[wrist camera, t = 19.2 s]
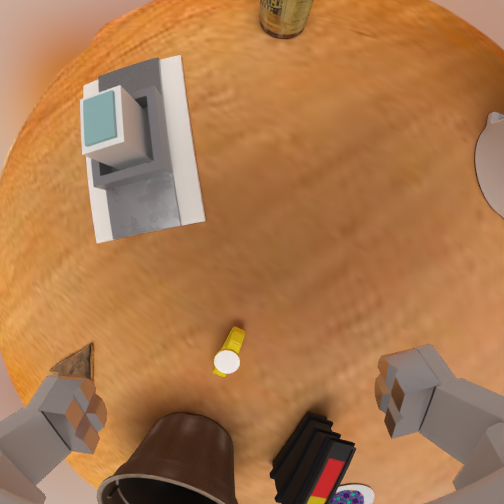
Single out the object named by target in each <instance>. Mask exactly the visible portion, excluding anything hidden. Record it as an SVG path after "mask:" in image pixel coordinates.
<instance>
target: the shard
mask: <svg viewBox="0 0 504 504" xmlns="http://www.w3.org/2000/svg"><path fill="white" fill-rule="evenodd" d="M93 351H94V349H93V345H92V344H90V345H88V346H87V347H85V348H84V349H82V350H81V351H80V352H78V353H77V354H75V355H73V356H70V357H68V358H67V359H65V360H63V361H61V362H60V363H58V364H57V365H55V366H54V368H53V369H51V370H49V374H50V375H55V376H67V377H77V378H87V379H90V380H92V382H93V371H94V370H93V368H94V352H93Z"/></svg>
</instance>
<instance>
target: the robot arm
mask: <svg viewBox="0 0 504 504" xmlns="http://www.w3.org/2000/svg"><path fill="white" fill-rule="evenodd" d="M475 163H476V171H477V176H478V180H479V184H480V187H481V189H482V192H483V194H484V196H485V198H486V200H487V201H488V203H489V204H490V206H491V207H492V208H493V209H494V210H495V211H496V212H497V213H498V214H499V215H501V216H502V217H503V218H504V115H503V114H500V113H497V112H491V113H489V115H488V119H487V126H486V128H485V130H484V131H483V132H482V133H481V135H480V137H479V139H478V142H477V146H476V153H475ZM378 369H379V371H380V374H379V376H378V377H377V378H376V381H375V397H376V401H377V405H378V407H379V410H381V411H383V412H384V413H386V416H385V420H384V422H385V424H386V427H387V429H388V432H389V434H390V437H391V439H392V438H396V437H400V436H404V435H408V434H411V433H415V432H418V431H420V432H419V433H420V434H422V435H423V436H424V437H426V438H427V439H429V440H430V441H431V442H433V443H434V444H436V445H437V446H438V447H440V448H441V449H443V450H444V451H445V452H447V453H448V454H450V455H451V456H452V457H454V458H455V459H457V460H458V461H460V462H461V463H462V464H464V465H463V467H462V468H461V469H460V471H459V472H458V474H457V475H456V476H455V478H454V480H453V484H454V486H455V488H456V491H454V492H452V493H450V494H448V495H445V496H443V497H440V498H438V499H435V500H433V501H430V502H428V503H425V504H504V396H502V395H499V394H497V393H495V392H492V391H490V390H488V389H485V388H483V387H481V386H479V385H476V384H474V383H472V382H470V381H467V380H465V379H463V378H460V379H457V378H456V377H455V375H454V374H453V372H452V371H451V370H450V368H449V367H448V366H447V364H446V363H445V361H444V360H443V359H442V357H441V356H440V355H439V353H438V352H437V351H436V349H435V348H434V347H433V345H431V344H427V345H423V346H419V347H415V348H413V349H408V350H404V351H400V352H396V353H391V354H387V355H382V356H381V357H380V359H379V362H378ZM95 391H96V387H95V385H94V384H93V382H92V380H90V379H87V378H77V377H67V376H55V375H49V376H47V377H46V378H45V380H44V381H43V383H42V384H41V386H40V387H39V389H38V390H37V392H36V393H35V395H34V396H33V398H32V399H31V401H30V403H29V404H28V406H27V407H26V408H21V409H20V410H18V411H17V412H15V413H13V414H12V415H10V416H8V417H7V418H5V419H4V420H2V421H0V504H44V501H45V499H46V497H45V494H44V493H43V492H42V491H41V490H40V489H38V488H37V487H36V485H37V484H38V483H39V482H40V481H41V480H42V479H43V478H44V477H45V476H46V475H47V474H49V473H50V472H51V471H52V470H53V469H54V468H55V467H56V466H57V465H58V464H59V463H60V462H61V461H62V460H64V459H65V458H66V457H67V456H68V455H69V454H70V453H71V451H75V452H81V453H88V454H94V451H95V449H96V446H97V444H98V441H99V439H100V438H99V435H98V431H100V430H101V429H102V428H104V426H105V423H106V420H107V410H106V406H105V403H104V402H103V400H102V398H100V397H99V396H98V395H97V394H95Z"/></svg>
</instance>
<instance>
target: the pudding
mask: <svg viewBox="0 0 504 504" xmlns="http://www.w3.org/2000/svg"><path fill="white" fill-rule="evenodd" d="M343 490H344V491H343ZM349 490H357V491H353V492H350V491H349ZM338 491H341V492H339V493H338V494H335V495H334V497H333V499H332V501H331V502H330V504H372V503H373V501H374V492H373V490H372V489H371V488H369V487H367V486H364V485H346V486H341V487H338V489H337V491H336V492H338ZM359 491H360V492H361V493H362V494H363V495H364V498H363V496H361V493H360V492H359Z"/></svg>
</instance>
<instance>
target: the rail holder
mask: <svg viewBox="0 0 504 504" xmlns="http://www.w3.org/2000/svg"><path fill="white" fill-rule="evenodd" d="M119 85H121V86H122V87H123V88H124V89H125V90H126V91H127V92H128V93H129V95H130V96H131V97H132V98H133V99H134V100H135V101H136V102H137V103H138V104H139V105H140V106H141V107H142V108H143V109H144V110H145V111H146V112H147V113H148V116H149V126H150V135H151V143H152V152H153V159H154V161H150V162H147V163H143V164H139V165H135V166H131V167H127V168H124V169H120V170H118V169H116V168H113V167H111V166H108V165H106V164H104V163H101V162H99V161H96V160H94V159H91V158H89V157H86V162H87V173H88V183H89V192H90V201H91V208H92V216H93V223H94V229H95V235H96V241H97V243H103V242H107V241H112V240H116V239H121V238H126V237H130V236H135V235H140V234H145V233H149V232H154V231H159V230H164V229H169V228H174V227H179V226H184V225H189V224H194V223H199V222H205V221H206V216H205V210H204V205H203V199H202V193H201V187H200V181H199V175H198V168H197V162H196V156H195V149H194V143H193V136H192V129H191V122H190V116H189V109H188V101H187V94H186V87H185V79H184V71H183V63H182V58H181V55H178V56H174V57H170V58H166V59H162V60H159V58H154V59H150V60H147V61H144V62H140V63H137V64H134V65H131V66H127V67H124V68H121V69H118V70H115V71H113V72H110V73H107V74H104V75H101V76H99V77H98V80H96V81H94V82H91V83H89V84H86V85H84V98H86V97H88V96H91V95H94V94H96V93H99V92H102V91H105V90H108V89H110V88H113V87H116V86H119Z"/></svg>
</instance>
